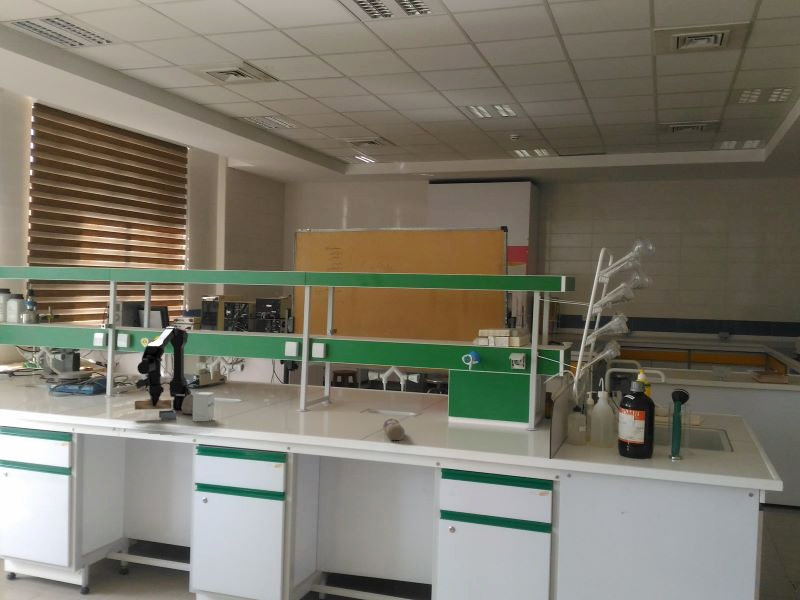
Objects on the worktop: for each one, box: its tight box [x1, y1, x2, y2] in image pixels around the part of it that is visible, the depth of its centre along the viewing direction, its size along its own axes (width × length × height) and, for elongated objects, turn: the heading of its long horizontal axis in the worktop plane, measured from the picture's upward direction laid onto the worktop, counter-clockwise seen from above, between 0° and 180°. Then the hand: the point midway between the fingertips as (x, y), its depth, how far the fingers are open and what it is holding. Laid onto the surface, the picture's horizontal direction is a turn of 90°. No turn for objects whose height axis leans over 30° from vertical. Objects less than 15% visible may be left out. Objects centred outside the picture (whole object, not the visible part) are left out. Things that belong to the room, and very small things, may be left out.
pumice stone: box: [181, 394, 193, 415], centre depth 352 cm, size 15×8×10 cm, turn 71°
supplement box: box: [192, 391, 215, 422], centre depth 337 cm, size 7×7×13 cm
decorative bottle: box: [382, 418, 406, 441], centre depth 314 cm, size 26×8×7 cm, turn 7°
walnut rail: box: [134, 398, 173, 411], centre depth 338 cm, size 16×4×4 cm, turn 107°
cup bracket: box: [158, 409, 177, 421], centre depth 341 cm, size 7×7×3 cm
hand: (153, 405), depth 338 cm, fingers closed on walnut rail, 4 cm apart
